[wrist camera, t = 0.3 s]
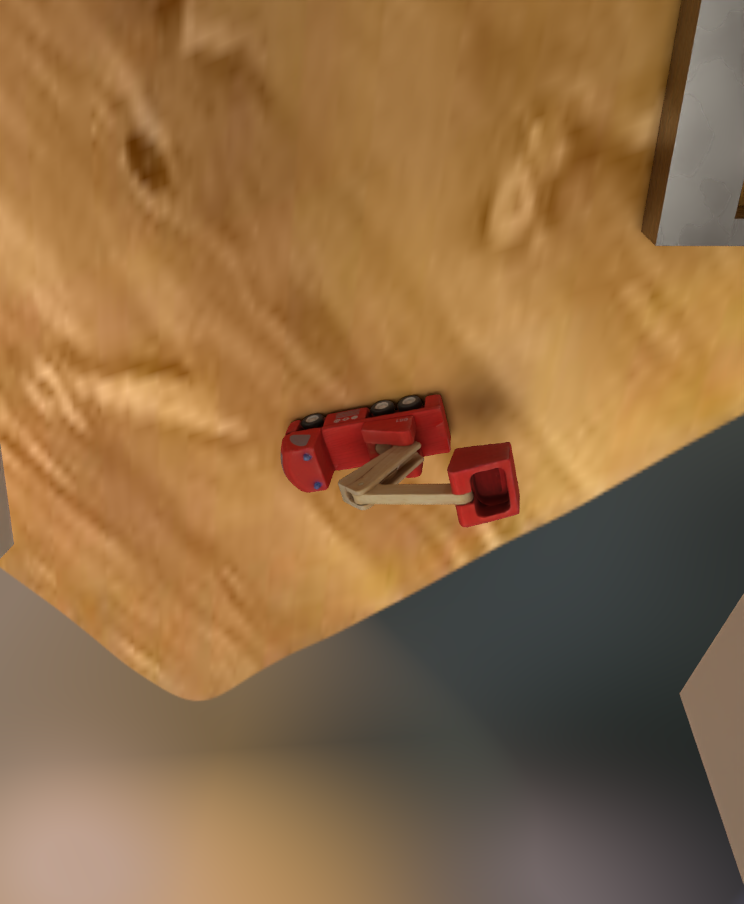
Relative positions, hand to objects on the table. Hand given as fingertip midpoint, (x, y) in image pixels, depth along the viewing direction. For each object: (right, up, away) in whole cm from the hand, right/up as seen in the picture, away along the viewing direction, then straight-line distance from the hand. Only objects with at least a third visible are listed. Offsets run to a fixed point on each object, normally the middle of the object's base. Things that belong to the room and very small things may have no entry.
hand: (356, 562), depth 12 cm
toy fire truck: (+2, +4, +29) cm, 30 cm away
